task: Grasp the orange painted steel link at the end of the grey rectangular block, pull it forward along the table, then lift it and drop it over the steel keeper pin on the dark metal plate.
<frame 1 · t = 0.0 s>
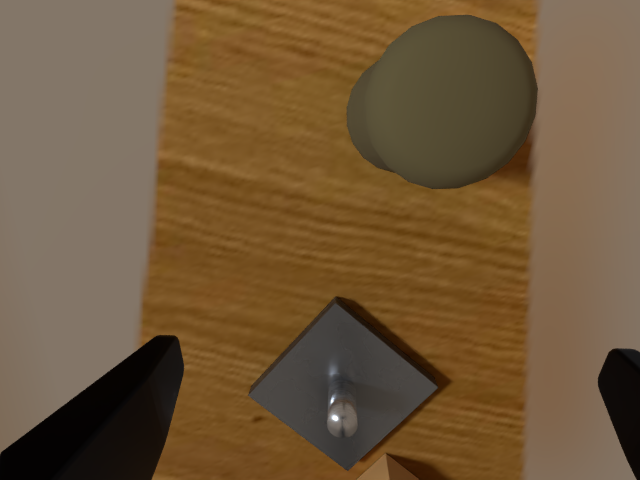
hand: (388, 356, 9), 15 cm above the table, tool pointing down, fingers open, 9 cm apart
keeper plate: (341, 382, 27), on the table
olive game pawn: (403, 115, 23), on the table
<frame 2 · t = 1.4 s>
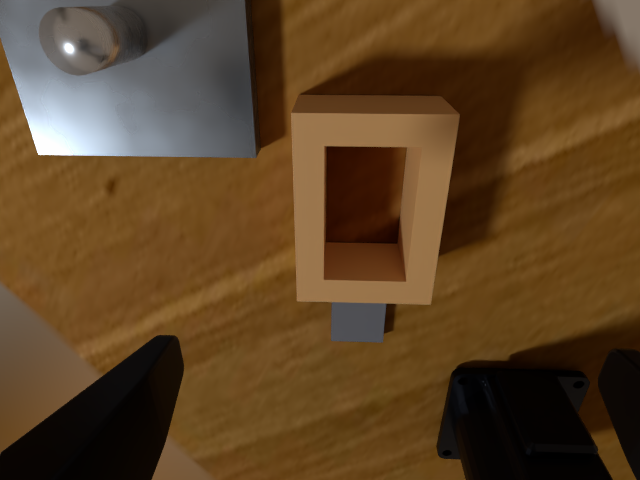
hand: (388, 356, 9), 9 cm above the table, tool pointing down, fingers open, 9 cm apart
link: (364, 187, 17), on the table
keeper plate: (134, 32, 15), on the table
grey rectangular block: (358, 300, 20), on the table
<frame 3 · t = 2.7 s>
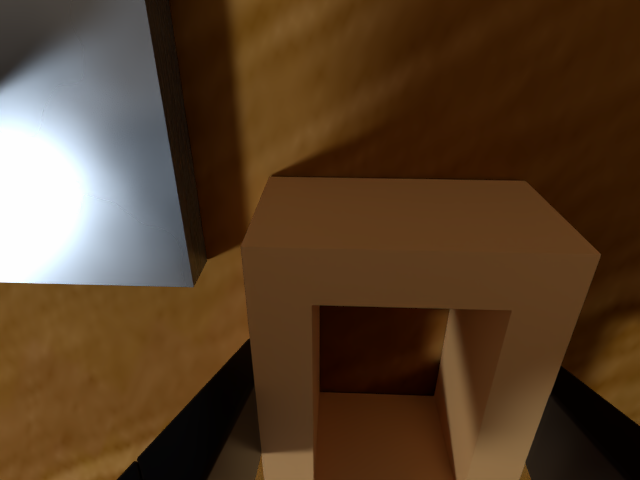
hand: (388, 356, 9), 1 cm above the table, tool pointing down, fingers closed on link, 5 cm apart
link: (383, 319, 10), on the table, touching gripper
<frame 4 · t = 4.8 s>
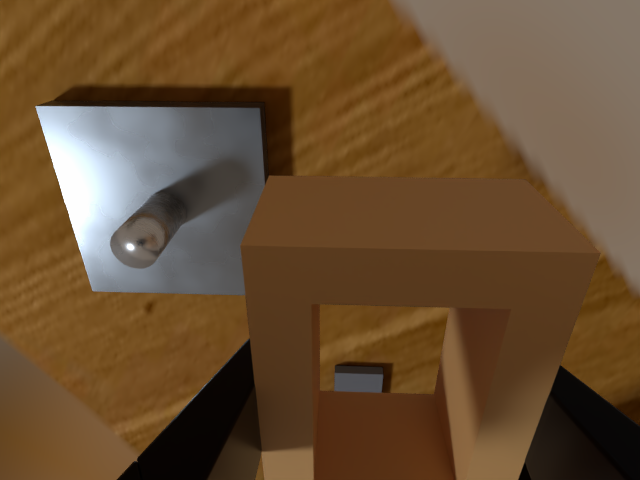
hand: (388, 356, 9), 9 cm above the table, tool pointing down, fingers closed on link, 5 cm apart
link: (383, 317, 10), point 8 cm above the table, touching gripper
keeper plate: (174, 200, 18), on the table
grey rectangular block: (357, 394, 23), on the table
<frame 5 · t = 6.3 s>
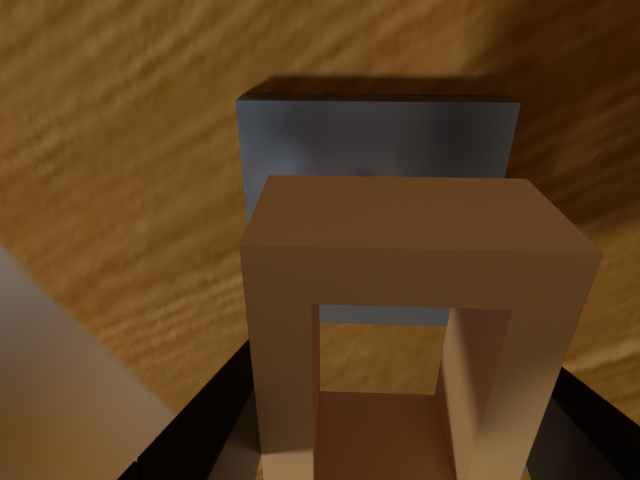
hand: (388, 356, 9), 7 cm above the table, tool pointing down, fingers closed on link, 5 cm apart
link: (383, 318, 10), point 6 cm above the table, touching gripper
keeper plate: (367, 214, 15), on the table
when the fingers open (4 cm above the table, at t = 7.2 s): link drops 2 cm, resting on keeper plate.
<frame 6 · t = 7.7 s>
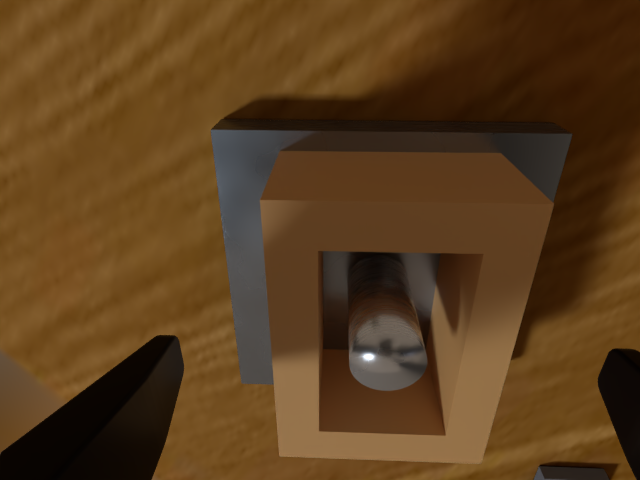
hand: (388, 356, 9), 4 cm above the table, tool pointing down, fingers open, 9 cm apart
link: (379, 279, 12), point 1 cm above the table, touching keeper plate
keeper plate: (374, 261, 12), on the table
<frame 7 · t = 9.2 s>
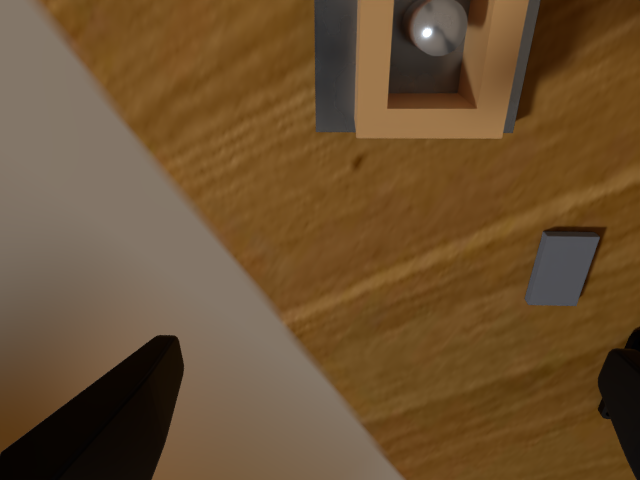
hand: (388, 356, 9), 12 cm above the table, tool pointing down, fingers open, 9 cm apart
link: (425, 22, 16), point 1 cm above the table, touching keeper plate
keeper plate: (419, 22, 17), on the table
grey rectangular block: (558, 267, 22), on the table
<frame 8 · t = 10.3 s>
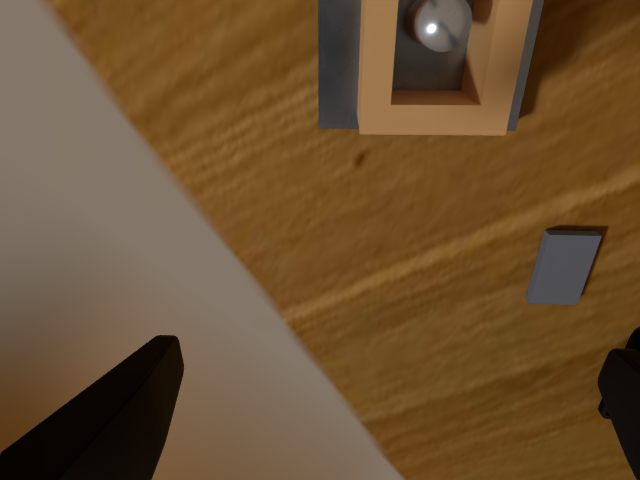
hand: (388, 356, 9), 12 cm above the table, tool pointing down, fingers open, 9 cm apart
link: (429, 18, 16), point 1 cm above the table, touching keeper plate
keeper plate: (423, 18, 17), on the table
grey rectangular block: (559, 265, 22), on the table
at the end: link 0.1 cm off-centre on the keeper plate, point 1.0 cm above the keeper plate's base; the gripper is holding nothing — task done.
